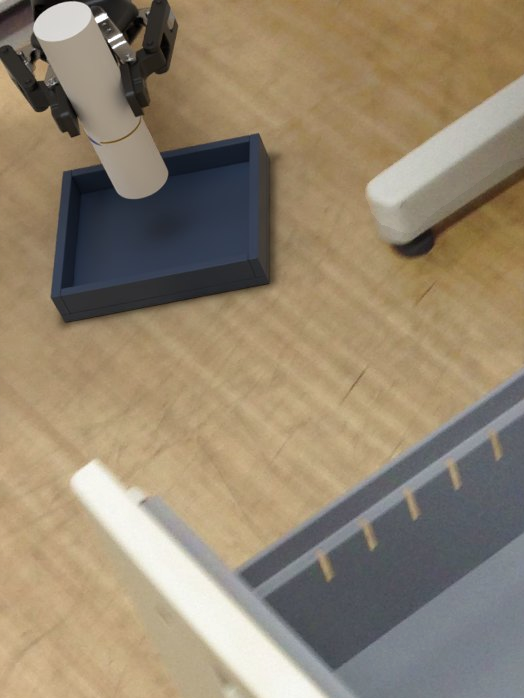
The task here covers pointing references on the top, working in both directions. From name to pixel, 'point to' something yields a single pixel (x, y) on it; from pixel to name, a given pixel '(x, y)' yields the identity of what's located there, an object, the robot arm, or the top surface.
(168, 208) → the tray
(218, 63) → the top surface
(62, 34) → the tube
